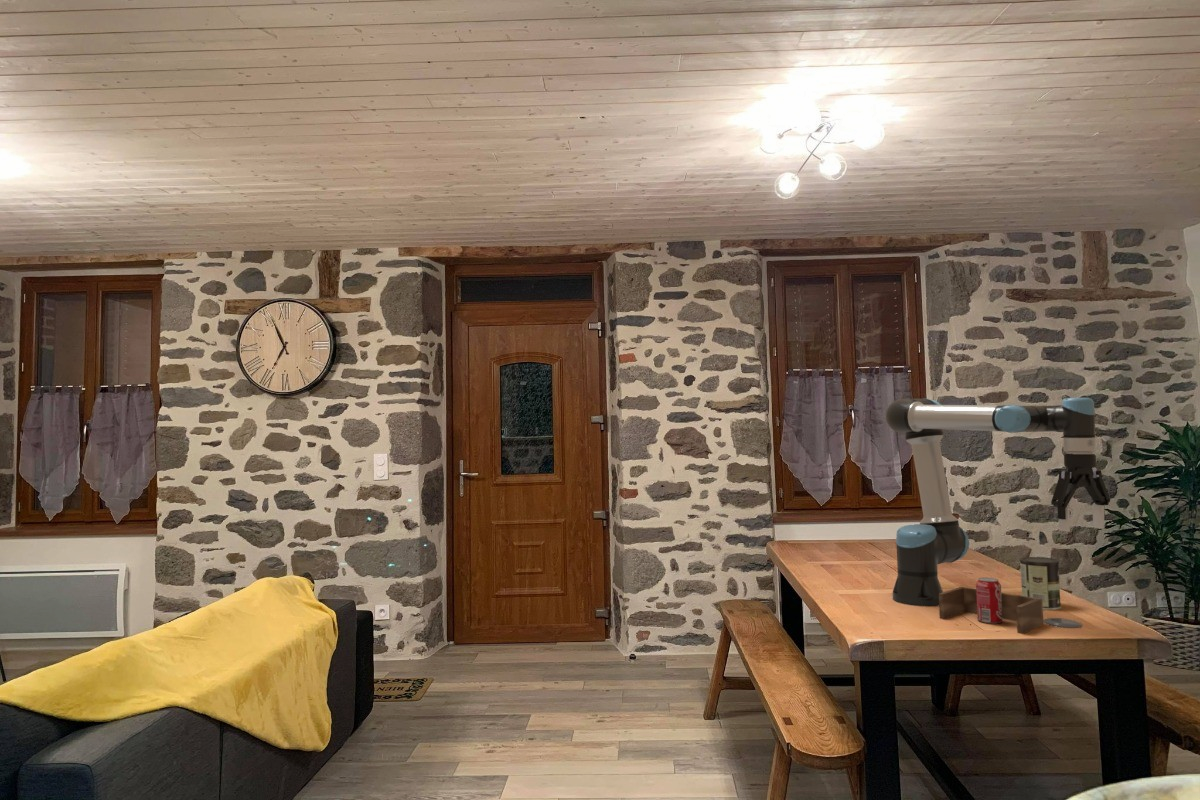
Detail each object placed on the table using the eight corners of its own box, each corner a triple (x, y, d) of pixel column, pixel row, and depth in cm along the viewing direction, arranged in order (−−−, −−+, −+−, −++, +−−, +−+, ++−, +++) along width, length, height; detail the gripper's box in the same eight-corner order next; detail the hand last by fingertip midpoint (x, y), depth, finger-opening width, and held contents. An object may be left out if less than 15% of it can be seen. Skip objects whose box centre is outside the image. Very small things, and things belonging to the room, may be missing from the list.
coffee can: (1053, 603, 228) (1050, 556, 228) (1067, 611, 217) (1064, 562, 218) (1016, 602, 230) (1014, 556, 230) (1028, 610, 220) (1026, 562, 220)
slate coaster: (1037, 624, 204) (1037, 622, 204) (1050, 618, 209) (1050, 616, 209) (1074, 630, 197) (1074, 628, 197) (1087, 624, 202) (1086, 622, 202)
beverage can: (1000, 620, 208) (998, 577, 209) (1004, 626, 202) (1002, 581, 203) (975, 619, 210) (974, 576, 211) (979, 624, 204) (977, 580, 205)
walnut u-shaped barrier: (939, 619, 211) (938, 593, 211) (962, 611, 219) (961, 586, 220) (1022, 634, 194) (1021, 607, 194) (1043, 625, 202) (1042, 598, 203)
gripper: (1060, 454, 198) (1062, 534, 197) (1123, 452, 207) (1126, 528, 206) (1035, 453, 205) (1037, 530, 204) (1097, 451, 214) (1099, 525, 213)
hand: (1081, 529), depth 205 cm, fingers open, 13 cm apart
